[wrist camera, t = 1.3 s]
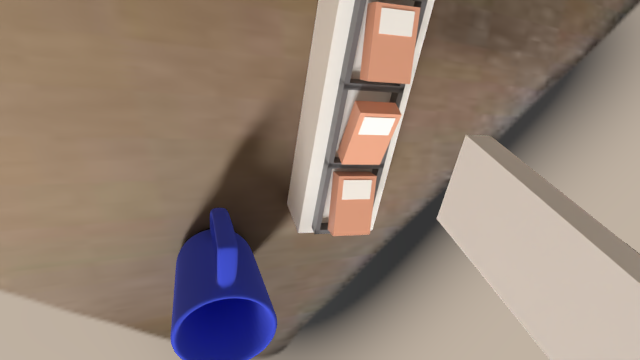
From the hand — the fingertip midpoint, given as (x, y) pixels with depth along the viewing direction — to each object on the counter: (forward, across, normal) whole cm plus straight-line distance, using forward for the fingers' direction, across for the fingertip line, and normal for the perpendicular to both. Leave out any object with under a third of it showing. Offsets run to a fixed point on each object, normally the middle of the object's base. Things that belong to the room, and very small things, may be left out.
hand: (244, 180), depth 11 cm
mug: (+26, +3, -22) cm, 34 cm away
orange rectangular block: (+20, +13, -2) cm, 24 cm away
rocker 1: (+20, +13, -8) cm, 25 cm away
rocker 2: (+20, +13, -15) cm, 28 cm away
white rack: (+26, +13, -8) cm, 30 cm away
